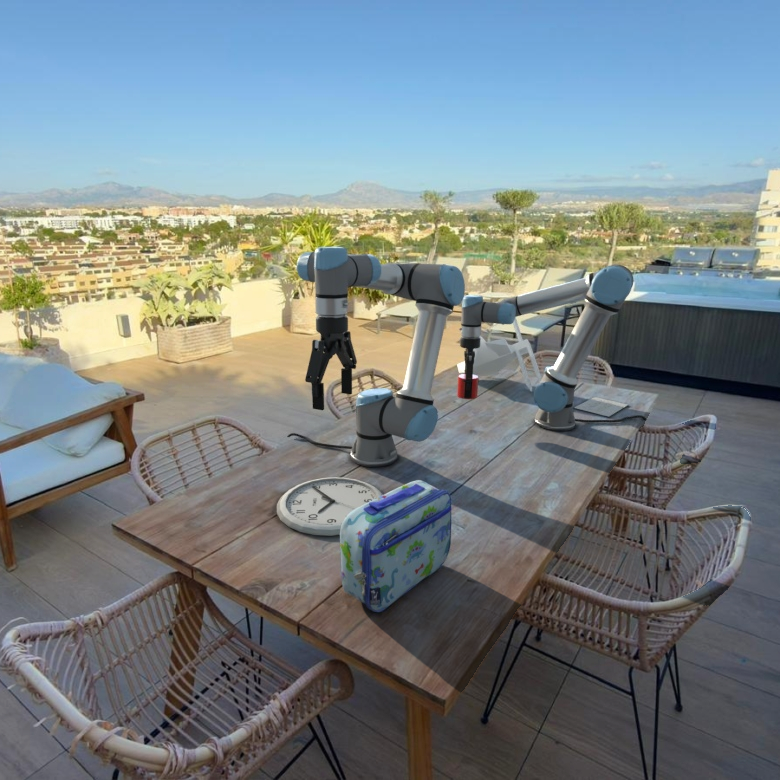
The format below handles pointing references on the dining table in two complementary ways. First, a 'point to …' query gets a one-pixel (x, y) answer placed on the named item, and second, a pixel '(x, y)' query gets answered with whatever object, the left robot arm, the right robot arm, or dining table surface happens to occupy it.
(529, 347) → the white plastic object
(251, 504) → the dining table surface
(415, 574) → the lunch box
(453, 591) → the dining table surface
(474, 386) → the canister
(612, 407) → the invitation card
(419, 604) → the dining table surface
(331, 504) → the wall clock
